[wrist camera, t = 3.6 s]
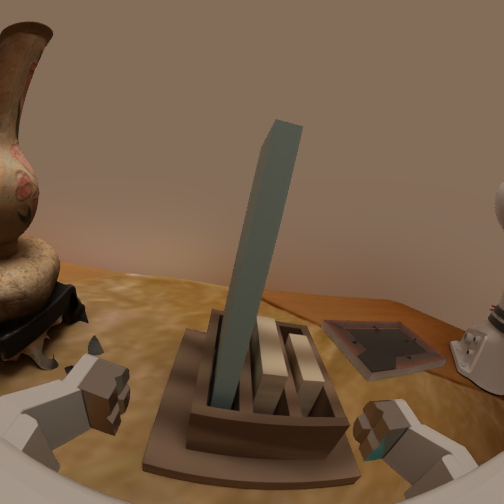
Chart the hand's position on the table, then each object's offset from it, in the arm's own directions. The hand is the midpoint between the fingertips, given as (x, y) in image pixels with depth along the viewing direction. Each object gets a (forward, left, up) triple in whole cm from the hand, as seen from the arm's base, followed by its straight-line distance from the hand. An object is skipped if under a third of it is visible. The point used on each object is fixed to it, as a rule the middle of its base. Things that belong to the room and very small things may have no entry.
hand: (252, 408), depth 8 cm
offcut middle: (-15, -3, -13) cm, 21 cm away
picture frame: (-41, +16, -16) cm, 46 cm away
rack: (-15, -2, -15) cm, 22 cm away
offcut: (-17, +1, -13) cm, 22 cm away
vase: (-3, -30, -15) cm, 34 cm away
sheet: (-14, -6, -13) cm, 20 cm away
